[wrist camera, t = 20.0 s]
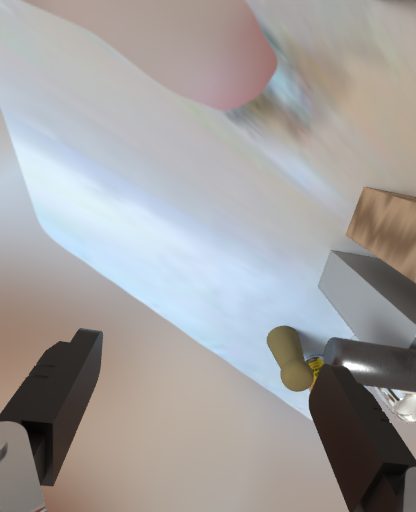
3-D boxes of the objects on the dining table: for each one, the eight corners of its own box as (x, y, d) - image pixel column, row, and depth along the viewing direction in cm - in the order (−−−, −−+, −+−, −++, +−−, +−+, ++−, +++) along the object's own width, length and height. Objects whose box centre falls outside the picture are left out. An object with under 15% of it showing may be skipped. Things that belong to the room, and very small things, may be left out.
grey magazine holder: (331, 250, 50) (430, 337, 29) (407, 263, 52) (558, 357, 30) (317, 286, 53) (399, 392, 31) (390, 298, 54) (518, 408, 32)
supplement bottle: (314, 349, 58) (336, 390, 49) (333, 363, 59) (358, 406, 50) (294, 366, 60) (311, 410, 50) (313, 380, 61) (334, 425, 52)
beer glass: (339, 346, 58) (382, 412, 44) (365, 321, 56) (420, 382, 42) (364, 362, 60) (413, 431, 46) (390, 338, 58) (451, 403, 44)
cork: (301, 327, 56) (324, 370, 46) (294, 353, 58) (313, 399, 48) (270, 324, 56) (285, 366, 46) (263, 350, 58) (277, 396, 48)
